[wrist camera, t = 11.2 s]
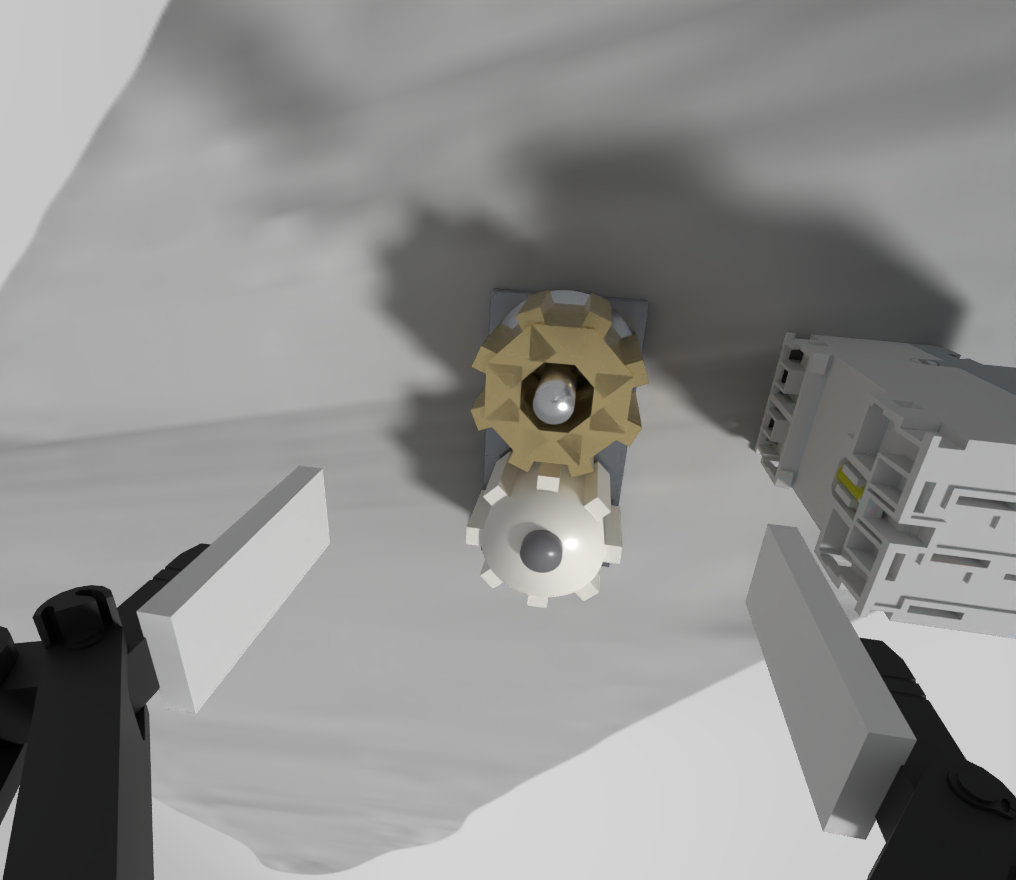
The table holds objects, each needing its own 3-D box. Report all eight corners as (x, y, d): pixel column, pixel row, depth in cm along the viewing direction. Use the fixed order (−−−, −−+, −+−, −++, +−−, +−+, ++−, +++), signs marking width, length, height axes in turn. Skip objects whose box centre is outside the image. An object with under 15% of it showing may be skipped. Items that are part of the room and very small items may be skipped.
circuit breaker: (1002, 479, 33) (1281, 676, 20) (754, 451, 35) (852, 615, 21) (1062, 357, 30) (1441, 490, 17) (786, 332, 32) (925, 435, 18)
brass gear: (649, 296, 31) (660, 317, 26) (627, 440, 35) (633, 485, 29) (494, 284, 32) (472, 302, 27) (488, 425, 36) (468, 467, 30)
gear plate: (648, 293, 32) (662, 322, 25) (608, 558, 39) (610, 640, 32) (493, 281, 33) (463, 306, 26) (483, 542, 41) (458, 617, 33)
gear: (628, 449, 35) (633, 495, 29) (609, 569, 38) (611, 628, 33) (484, 434, 36) (464, 475, 30) (479, 552, 39) (461, 607, 34)
